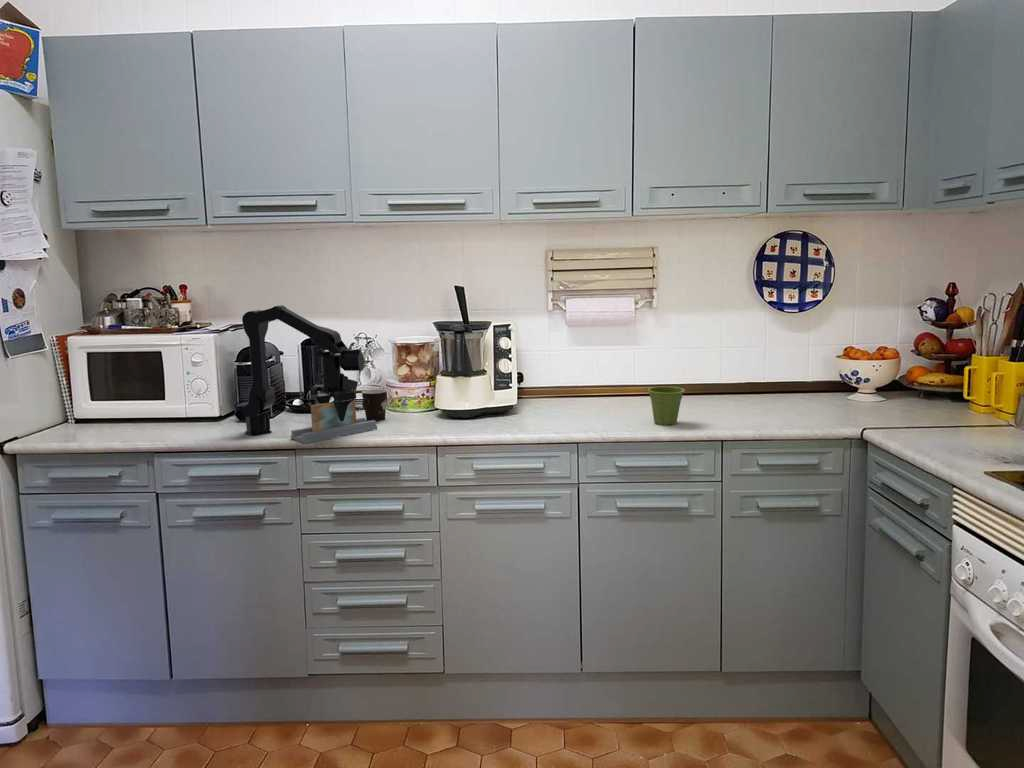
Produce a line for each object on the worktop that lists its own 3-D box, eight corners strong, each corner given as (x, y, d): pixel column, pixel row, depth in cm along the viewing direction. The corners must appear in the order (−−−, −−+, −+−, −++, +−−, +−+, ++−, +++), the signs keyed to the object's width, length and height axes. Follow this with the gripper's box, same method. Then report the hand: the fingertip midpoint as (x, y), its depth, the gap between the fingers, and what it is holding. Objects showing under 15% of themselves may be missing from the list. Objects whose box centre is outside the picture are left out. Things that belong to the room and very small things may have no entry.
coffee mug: (379, 416, 275) (377, 388, 273) (393, 419, 269) (392, 391, 267) (350, 421, 267) (349, 392, 265) (365, 424, 261) (363, 395, 259)
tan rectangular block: (318, 435, 242) (316, 406, 240) (312, 433, 244) (310, 405, 243) (356, 427, 251) (355, 400, 250) (350, 426, 254) (349, 399, 252)
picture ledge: (305, 443, 236) (304, 434, 235) (291, 439, 242) (290, 430, 242) (377, 429, 253) (376, 420, 253) (362, 425, 260) (361, 417, 259)
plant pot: (650, 427, 247) (650, 392, 245) (645, 419, 259) (645, 386, 257) (687, 427, 246) (688, 392, 245) (680, 419, 258) (681, 386, 256)
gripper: (369, 370, 243) (372, 419, 246) (338, 365, 257) (340, 411, 259) (338, 374, 236) (341, 424, 238) (307, 369, 249) (310, 416, 252)
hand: (334, 419), depth 247 cm, fingers open, 9 cm apart
